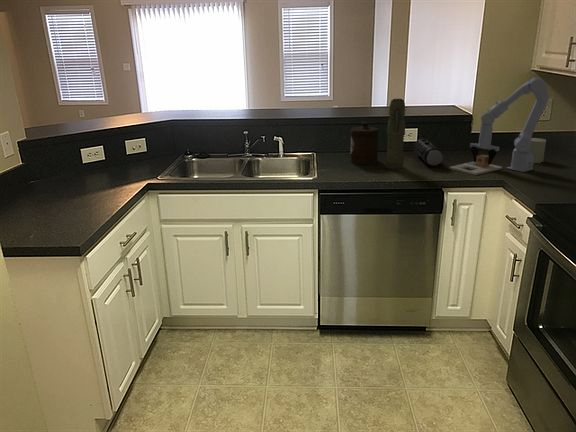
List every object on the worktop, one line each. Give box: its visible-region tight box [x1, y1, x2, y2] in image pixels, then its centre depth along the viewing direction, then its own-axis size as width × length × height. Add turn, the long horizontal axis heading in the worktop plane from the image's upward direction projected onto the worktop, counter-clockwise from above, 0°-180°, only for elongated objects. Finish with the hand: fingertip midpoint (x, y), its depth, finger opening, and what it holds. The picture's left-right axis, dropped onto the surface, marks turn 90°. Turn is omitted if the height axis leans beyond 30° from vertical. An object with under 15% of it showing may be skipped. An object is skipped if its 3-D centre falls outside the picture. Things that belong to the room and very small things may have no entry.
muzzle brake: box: [413, 138, 444, 167], centre depth 257 cm, size 10×28×10 cm, turn 178°
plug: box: [476, 154, 489, 168], centre depth 243 cm, size 4×5×6 cm
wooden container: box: [350, 121, 379, 165], centre depth 260 cm, size 15×15×22 cm
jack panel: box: [449, 160, 503, 176], centre depth 242 cm, size 16×20×1 cm
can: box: [529, 137, 547, 164], centre depth 250 cm, size 9×9×12 cm
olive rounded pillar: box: [385, 98, 406, 171], centre depth 243 cm, size 9×12×35 cm
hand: (482, 162), depth 244 cm, fingers open, 7 cm apart
